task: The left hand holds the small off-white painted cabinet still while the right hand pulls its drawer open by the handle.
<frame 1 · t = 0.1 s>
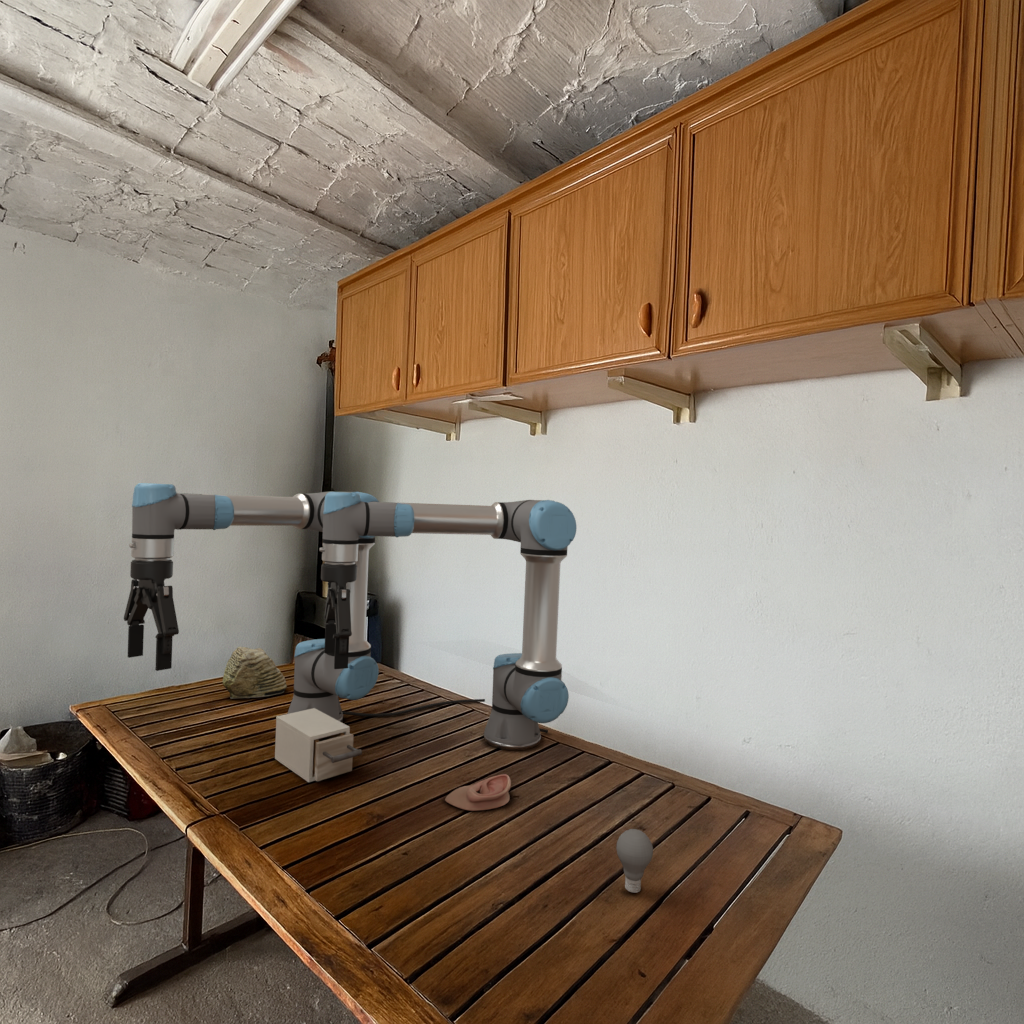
left hand: (148, 662, 129), 28 cm above the table, tool pointing down, fingers open, 13 cm apart
right hand: (335, 660, 138), 28 cm above the table, tool pointing down, fingers open, 13 cm apart
fossil: (254, 694, 198), on the table
cabinet: (310, 764, 149), on the table
light bulb: (632, 891, 106), on the table
drawer: (324, 750, 145), point 5 cm above the table, slide at 1.4 cm
anatomical model: (478, 799, 136), on the table
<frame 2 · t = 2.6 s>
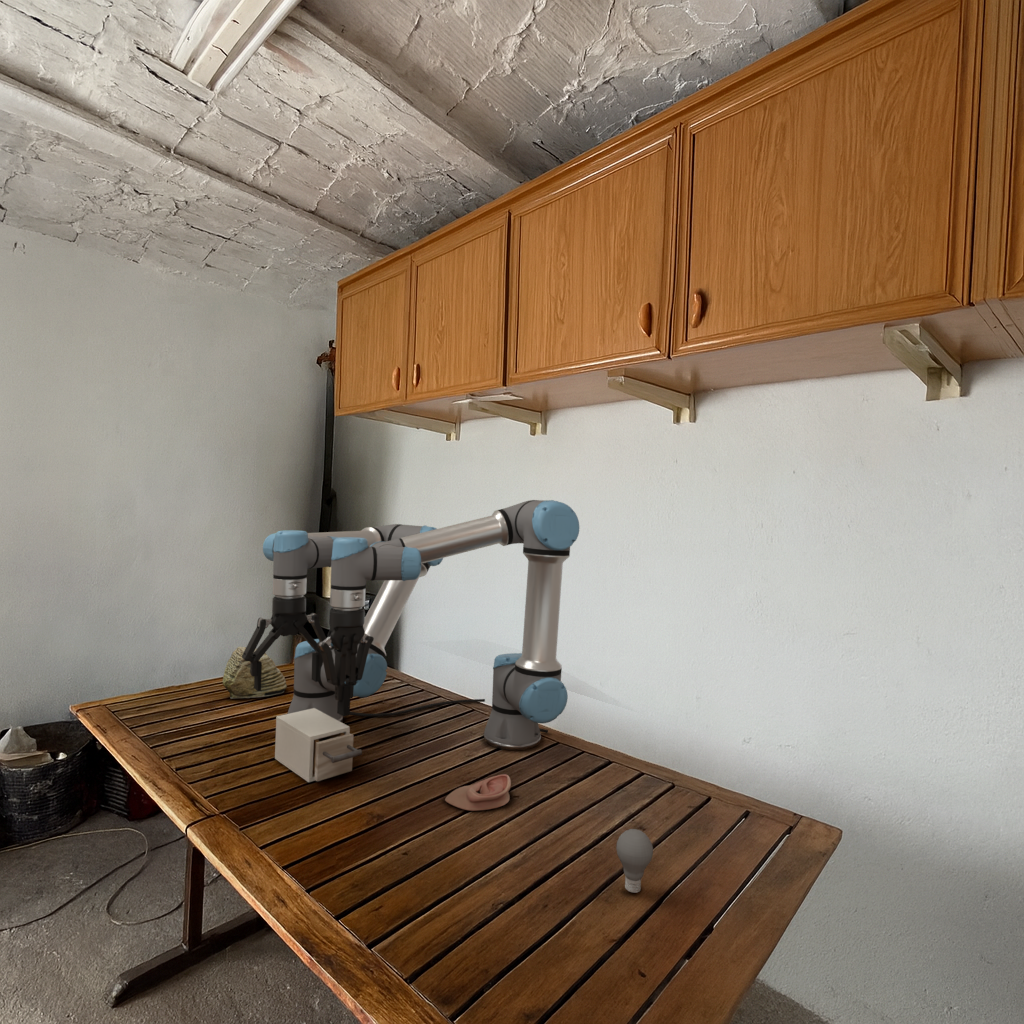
left hand: (287, 685, 150), 18 cm above the table, tool pointing down, fingers open, 13 cm apart
right hand: (343, 713, 140), 16 cm above the table, tool pointing down, fingers closed
nothing on the table moved.
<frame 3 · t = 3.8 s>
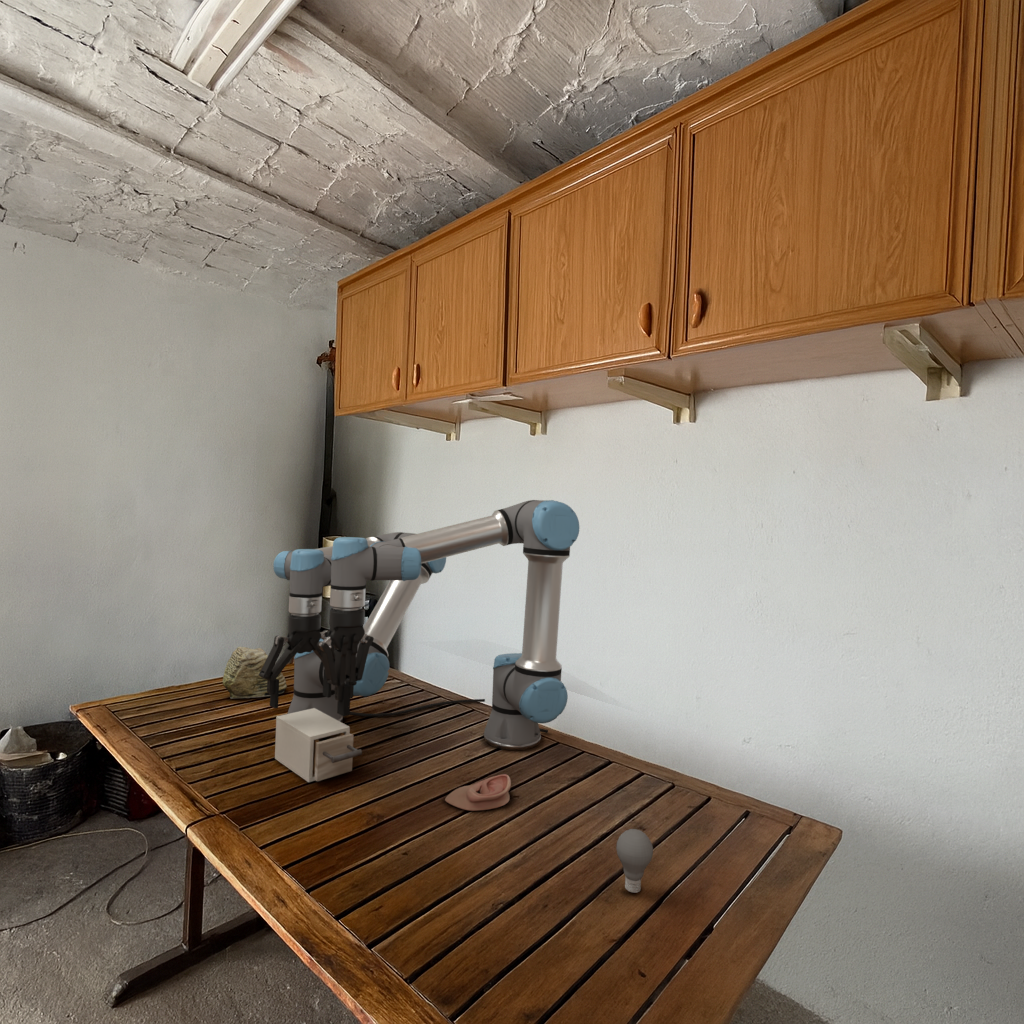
left hand: (301, 701, 153), 14 cm above the table, tool pointing down, fingers open, 13 cm apart
right hand: (343, 713, 140), 16 cm above the table, tool pointing down, fingers closed
nothing on the table moved.
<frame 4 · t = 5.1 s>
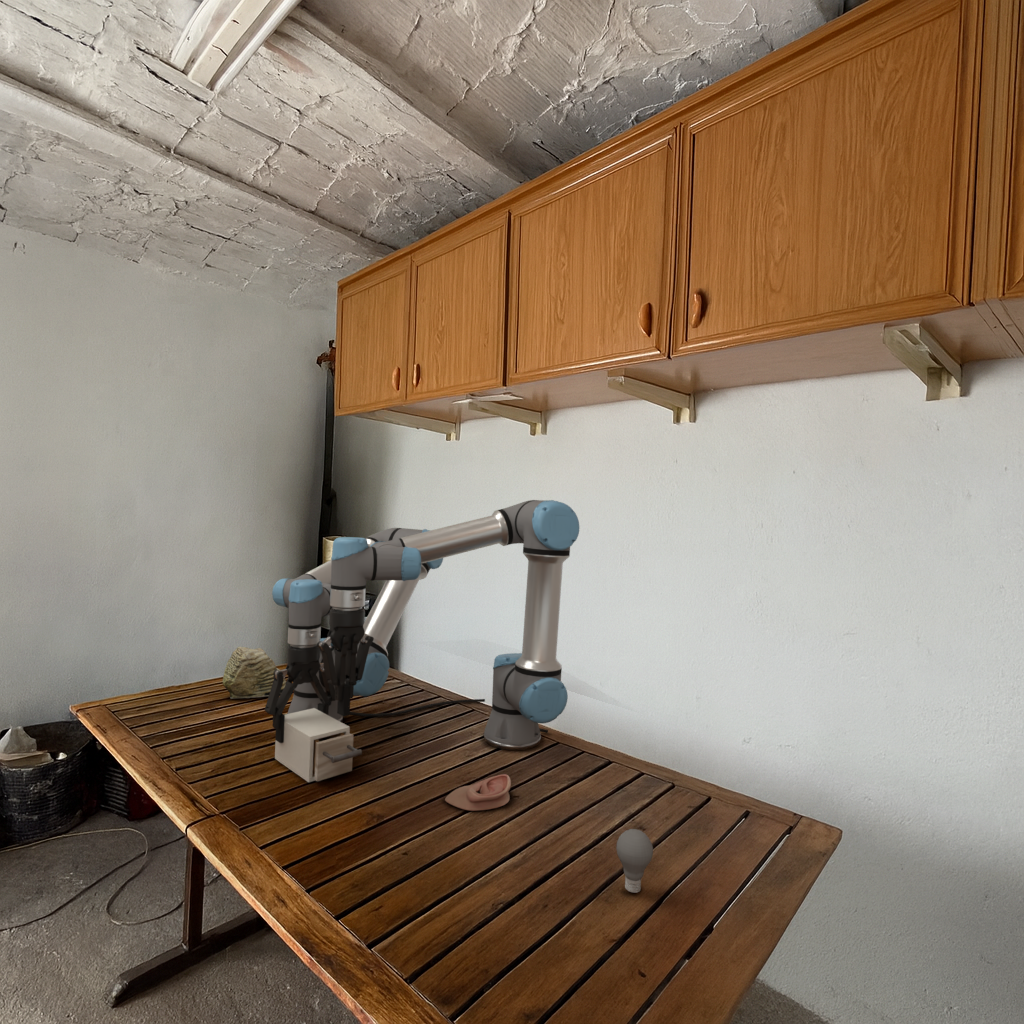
left hand: (300, 735, 153), 5 cm above the table, tool pointing down, fingers closed on cabinet, 10 cm apart
right hand: (343, 713, 140), 16 cm above the table, tool pointing down, fingers closed
cabinet: (310, 764, 149), on the table, touching left hand
everything else where it was.
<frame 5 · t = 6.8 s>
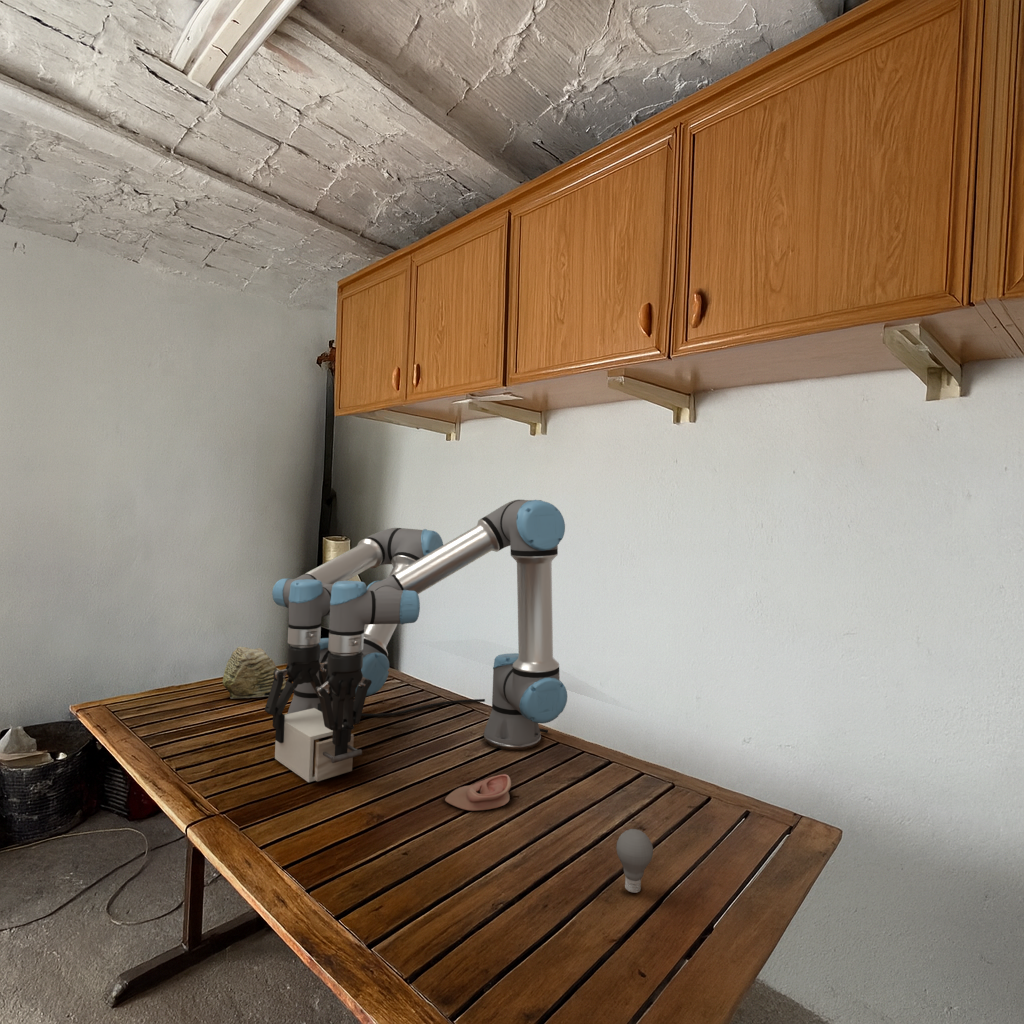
left hand: (300, 735, 153), 5 cm above the table, tool pointing down, fingers closed on cabinet, 10 cm apart
right hand: (340, 757, 140), 6 cm above the table, tool pointing down, fingers closed
cabinet: (310, 764, 149), on the table, touching left hand
drawer: (324, 750, 145), point 5 cm above the table, slide at 1.4 cm, touching right hand
everything else where it was.
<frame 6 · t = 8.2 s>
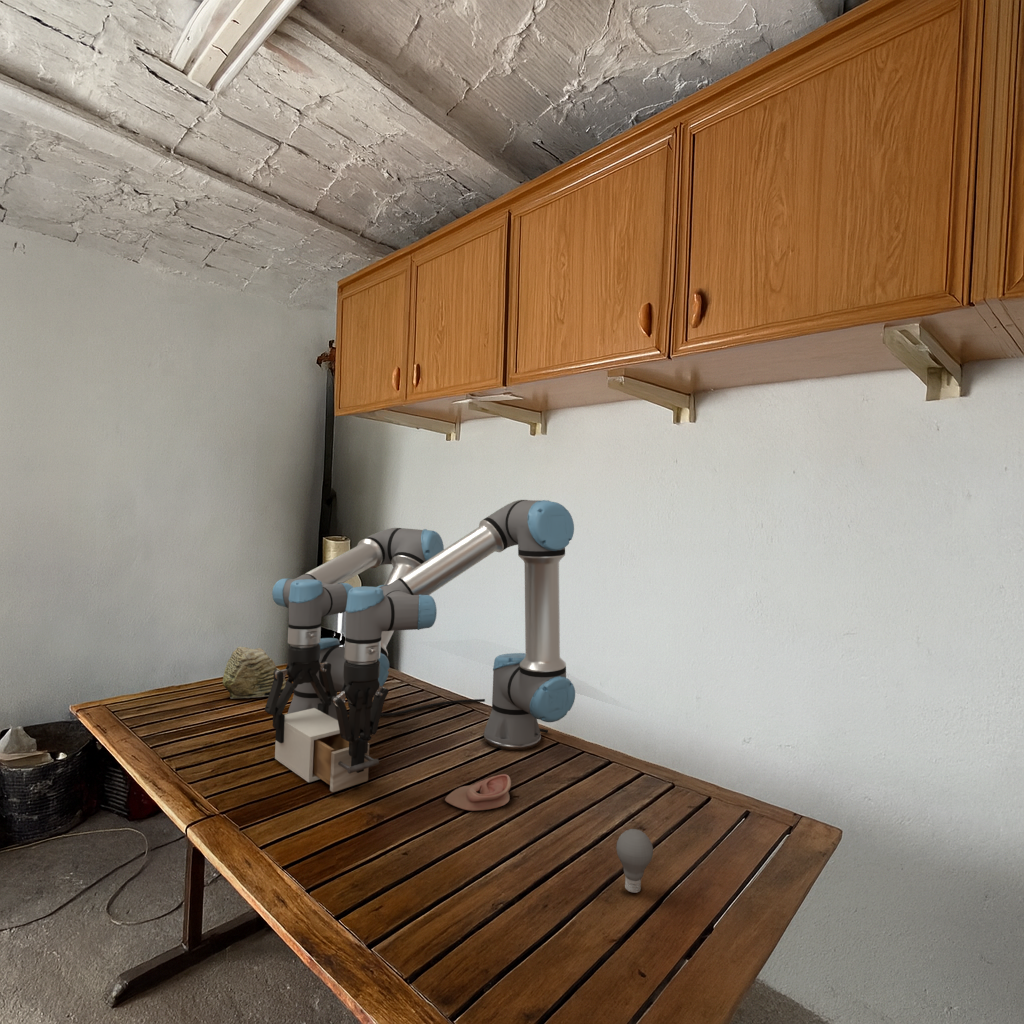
left hand: (300, 735, 153), 5 cm above the table, tool pointing down, fingers closed on cabinet, 10 cm apart
right hand: (357, 769, 135), 5 cm above the table, tool pointing down, fingers closed
cabinet: (310, 764, 149), on the table, touching left hand
drawer: (339, 759, 141), point 5 cm above the table, slide at 8.0 cm, touching right hand
everything else where it was.
when the left hand's fingers open (5 cm above the table, at t = 10.0 s): cabinet stays where it is, on the table.
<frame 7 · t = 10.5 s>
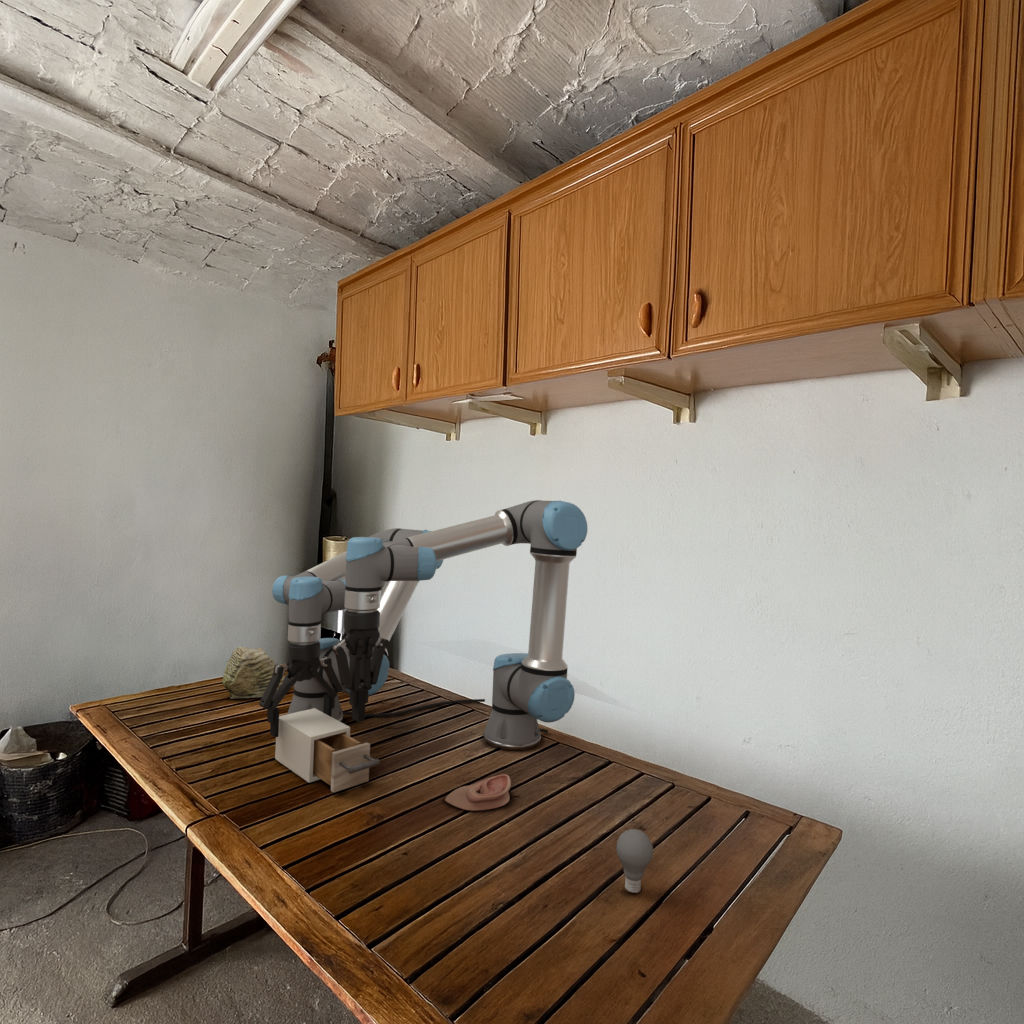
left hand: (301, 728, 153), 7 cm above the table, tool pointing down, fingers open, 13 cm apart
right hand: (358, 719, 135), 16 cm above the table, tool pointing down, fingers closed
cabinet: (311, 764, 149), on the table
drawer: (339, 760, 140), point 5 cm above the table, slide at 8.1 cm
everything else where it was.
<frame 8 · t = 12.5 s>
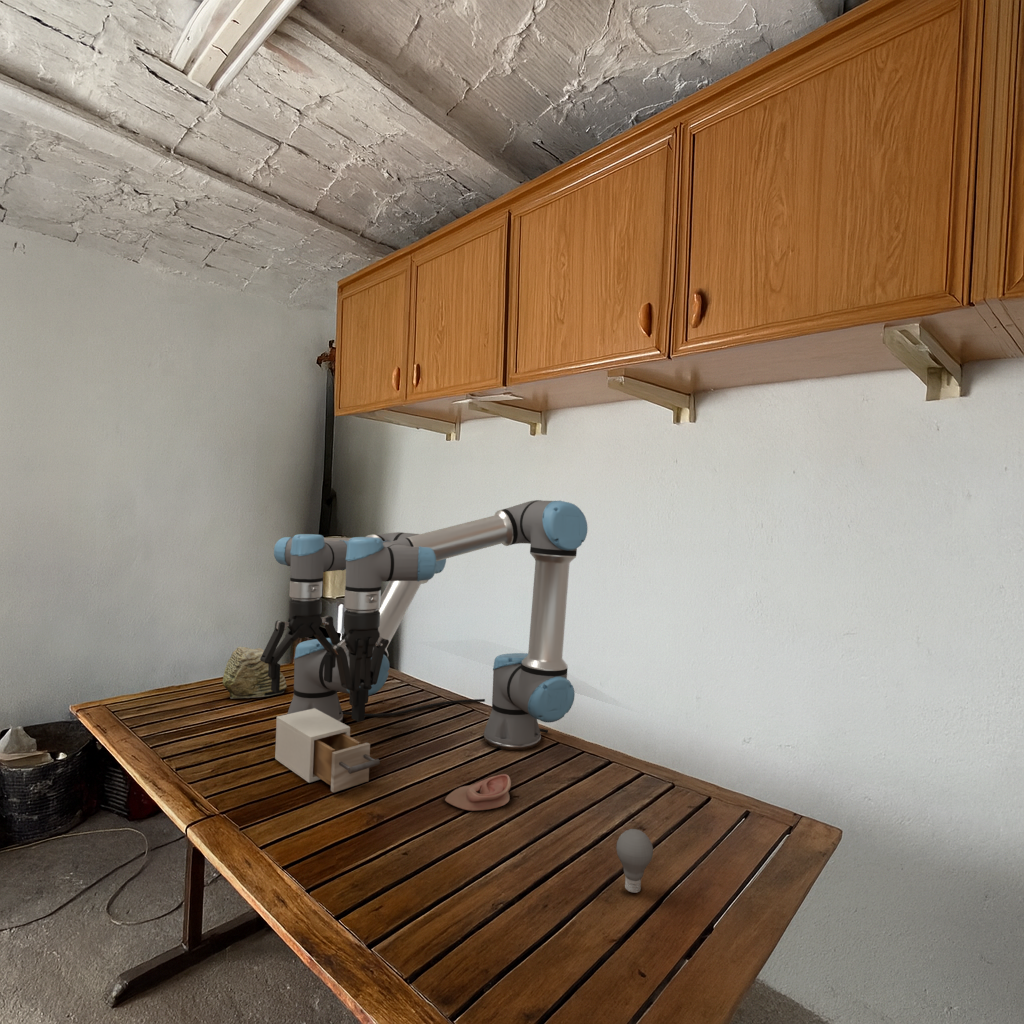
left hand: (302, 686, 153), 17 cm above the table, tool pointing down, fingers open, 13 cm apart
right hand: (358, 719, 135), 16 cm above the table, tool pointing down, fingers closed
nothing on the table moved.
at the end: drawer slide at 8.1 cm; cabinet tilted 0°; cabinet never tilted more than 1° during the clip; cabinet moved 0.2 cm from its start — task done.
